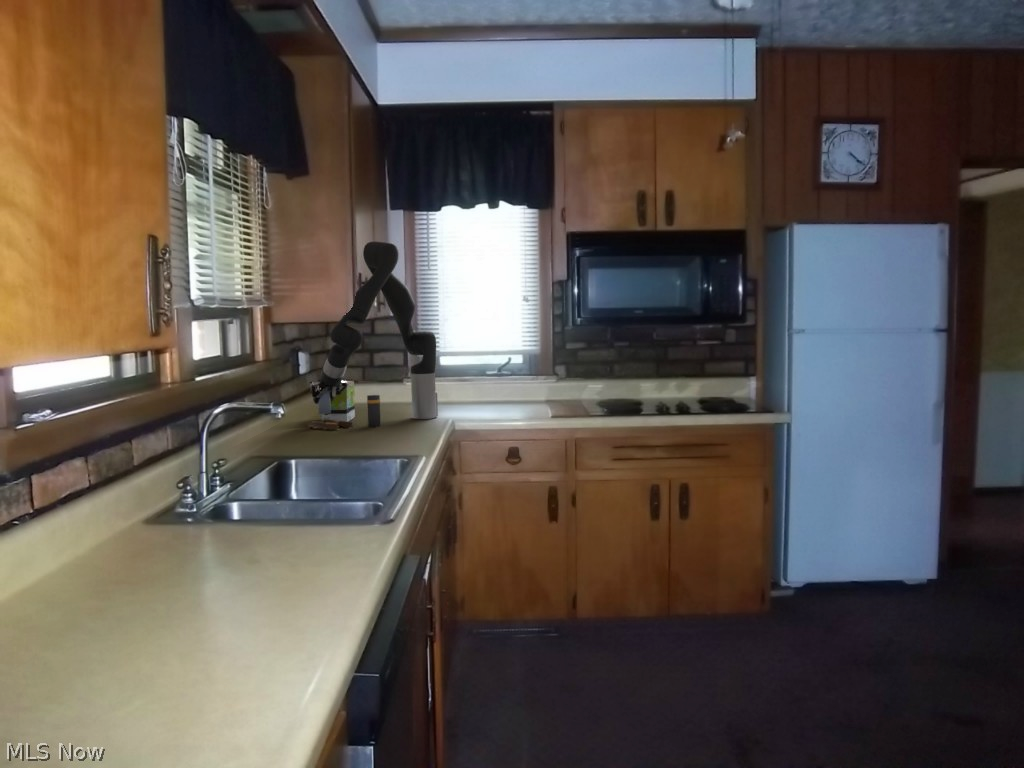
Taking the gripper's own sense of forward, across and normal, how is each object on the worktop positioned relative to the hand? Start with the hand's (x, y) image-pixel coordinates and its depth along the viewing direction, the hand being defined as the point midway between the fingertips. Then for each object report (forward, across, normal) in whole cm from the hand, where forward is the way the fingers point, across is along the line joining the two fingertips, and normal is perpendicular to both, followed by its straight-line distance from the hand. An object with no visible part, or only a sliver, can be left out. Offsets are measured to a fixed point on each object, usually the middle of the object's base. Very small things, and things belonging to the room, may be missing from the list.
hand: (322, 401), depth 294 cm
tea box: (+14, -11, -1) cm, 18 cm away
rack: (+3, -1, +10) cm, 11 cm away
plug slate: (+2, 0, +4) cm, 4 cm away
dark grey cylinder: (-2, -15, +14) cm, 21 cm away
